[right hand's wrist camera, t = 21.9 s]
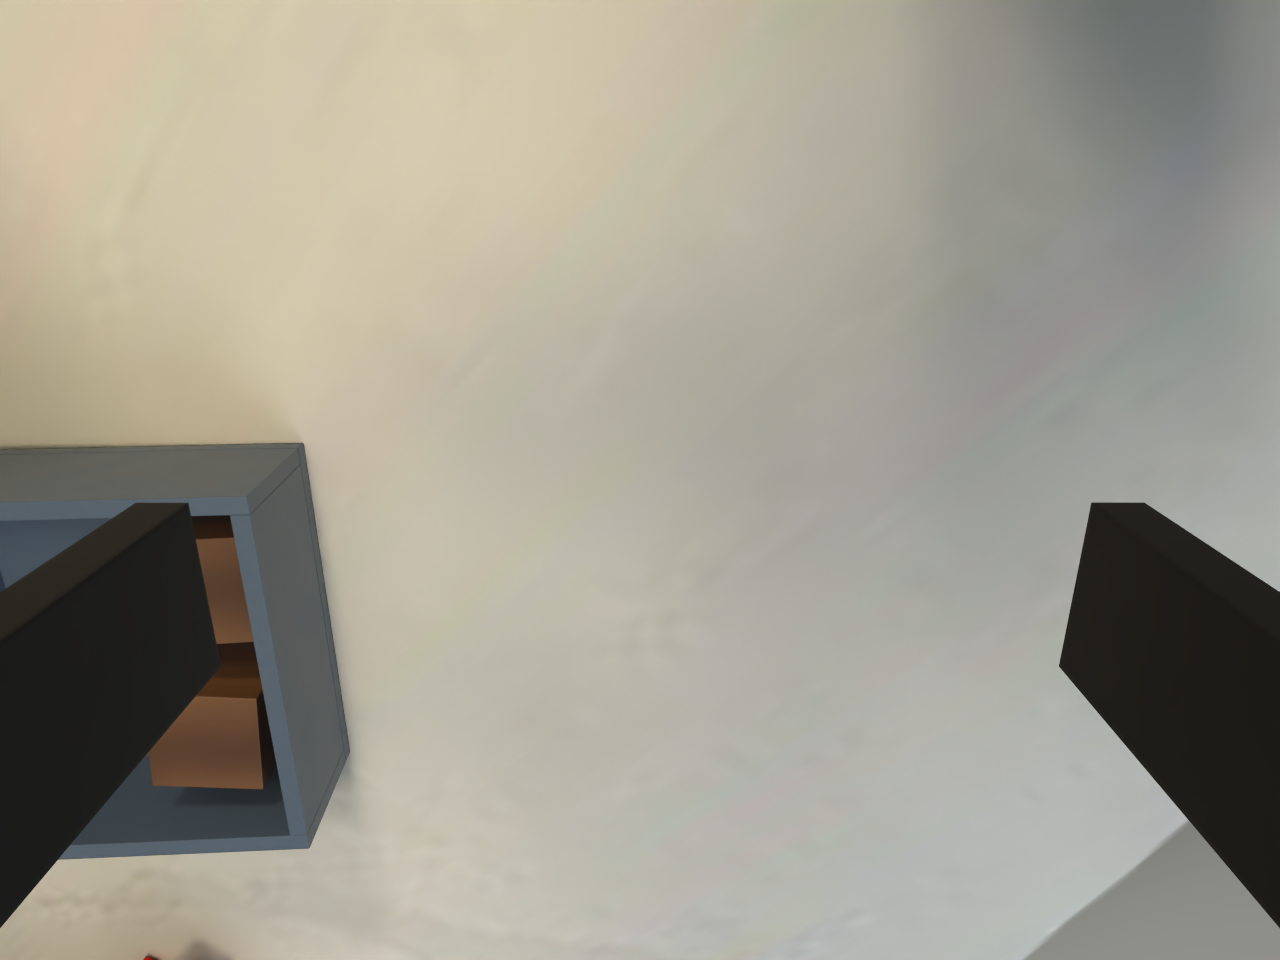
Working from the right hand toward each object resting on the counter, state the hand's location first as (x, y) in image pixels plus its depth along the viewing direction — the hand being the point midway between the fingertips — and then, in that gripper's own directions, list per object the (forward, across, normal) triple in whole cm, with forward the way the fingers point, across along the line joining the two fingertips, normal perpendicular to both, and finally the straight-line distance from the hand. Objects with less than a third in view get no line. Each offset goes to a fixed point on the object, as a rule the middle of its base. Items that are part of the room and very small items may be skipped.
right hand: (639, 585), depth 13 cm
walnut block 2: (+26, -20, -19) cm, 38 cm away
